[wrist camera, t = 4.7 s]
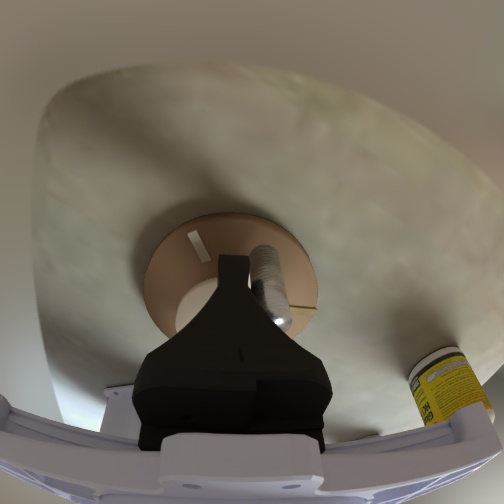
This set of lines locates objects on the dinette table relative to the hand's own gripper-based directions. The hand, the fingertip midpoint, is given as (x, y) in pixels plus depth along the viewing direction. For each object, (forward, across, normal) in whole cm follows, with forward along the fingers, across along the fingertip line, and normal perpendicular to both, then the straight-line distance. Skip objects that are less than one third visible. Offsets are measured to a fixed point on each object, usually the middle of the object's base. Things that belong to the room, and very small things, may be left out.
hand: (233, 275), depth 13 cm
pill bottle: (+4, -20, +13) cm, 24 cm away
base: (+4, 0, +4) cm, 6 cm away
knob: (+2, 0, +3) cm, 4 cm away
